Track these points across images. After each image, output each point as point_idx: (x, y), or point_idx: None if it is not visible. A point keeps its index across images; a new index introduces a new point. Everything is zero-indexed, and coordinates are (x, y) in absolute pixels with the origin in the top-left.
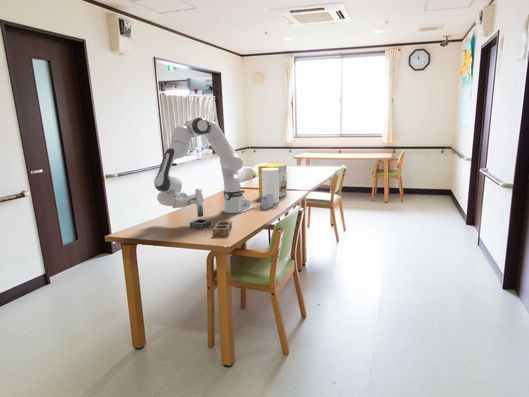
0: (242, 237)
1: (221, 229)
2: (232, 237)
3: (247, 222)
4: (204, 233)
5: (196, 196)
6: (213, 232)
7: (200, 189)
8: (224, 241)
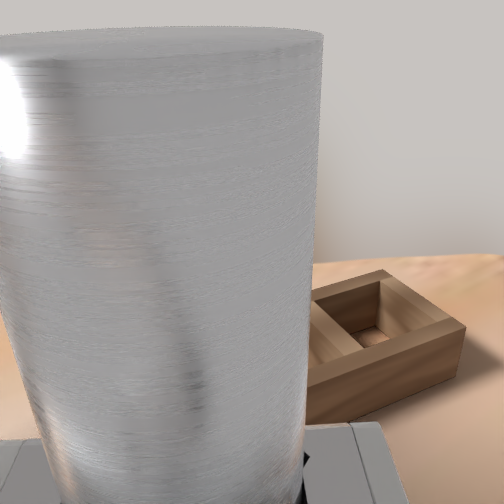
0: (347, 261)
1: (415, 294)
2: None
3: (7, 355)
4: (462, 487)
5: (305, 364)
6: (460, 349)
7: (96, 31)
8: (468, 289)
